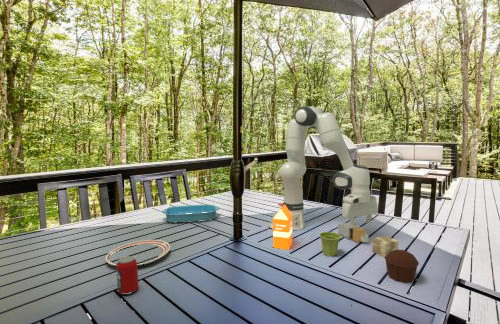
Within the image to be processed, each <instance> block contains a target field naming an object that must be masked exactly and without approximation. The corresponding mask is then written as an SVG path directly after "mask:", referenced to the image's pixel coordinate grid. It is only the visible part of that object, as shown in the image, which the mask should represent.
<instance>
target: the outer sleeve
mask: <svg viewBox="0 0 500 324" xmlns="http://www.w3.org/2000/svg"><path fill="white" fill-rule="evenodd" d="M338 225H339V230H338V229H337V231H338V233H337V234H339V235H340V236H341V238H344V239H347V240H348V241H350V240H351V241H352V240H353V237H351V230H352V229H353V228H359V227H360V228H361V226H359V225H358V224H356V226H351V222H350V221H349V222H343V223H338Z"/></svg>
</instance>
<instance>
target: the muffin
mask: <svg viewBox="0 0 500 324" xmlns="http://www.w3.org/2000/svg"><path fill="white" fill-rule="evenodd" d="M383 258H384V260H385V265H386V272H387V275H388V278H389V279H391V280H393V281H394V282H398V283H402V284H407V283H409V284H410V283H412V282H414V281H415V278H416V275H417V274H416V273H417V269H418V266H419V264H420V262H419V261H418V259H417V258H416V256H415V255H414V254H413V253H411V252H409V251H407V250H404V249H398V250H394V251H391V252H389V253H388V254H387V255H386V256H385V257H383Z"/></svg>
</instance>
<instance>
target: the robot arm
mask: <svg viewBox="0 0 500 324" xmlns="http://www.w3.org/2000/svg"><path fill="white" fill-rule="evenodd" d="M293 115H294V116H293V117H294V118H293V119H291V120H290V121H289V122H288V126H287V131H286V137H285V138H286V139H285V152H286V156H287V162H285V163H283V164H282V165H281V166H280V167H279V169H278V170H279V176H280V178H281V181H282V186H283V198H284V199H283V202H278V206H279V207H282V206H283V205H284V204H285V205H286V207H287V208H288V210H289V211H290V213H291V214H292V231H300V230H301V231H303V230H304V229H305V227H306V222H305V218H304V208H305V207H304V198H303V197H304V196H303V195H304V193H303V190H304V189H303V187H302V184H301V177H303V176H304V175H305V173H306V171H307V165H306V156H305V151H306V150H305V149H306V138H307V137H306V136H307V135H306V134H307V130H308V129H313V128H316V129H317V132H318V136H319V138H320V142H321V144H322V145H323V147H324V148H325V149H327V150H329V151H331V152H333V153H335V155H337V157H338V158H339V160H340V163H341V166H342V169H343V170H341V171H340V170H339V171H337V172H336V173H334V174H333V176H332V183H333V186H334V187H335V188H337V190H343V191H344V190H350V193H349V194H348V195H345V196H344V197H342V202H343V203H342V209H341V211H342V213H341V214H342V217H343V218H345V219H348V220H349V222H350V223H351V226H356V225H357V223H356V221H355V218H359V217H364V216H367V217H366V218H365V219H364V220H365V224H371V220H372V218H373V215H375V214H376V215H377V213H378V212H379V206H378V202H377V197H376V196H375V195H371V189H370V185H371V177H370V170H369V168H368V167H367V166H365V165H362V164H355V161H354V160H353V157H352V155H351V153H350V150H349V147H348V146H347V144H346V141H345V139H344V137H343V134H342V131H341V128H340V125H339V123H338V120H337V118H336V116H335V115H334V114H333V113H332V112H325V111H324V110H323V109H322V108H320V107H315V106H307V105H305V106H300V107H299V108H297V109H296V110H295V112H294V114H293ZM278 212H279V210H278V211H277V212H275V213H274V214H273V215H272V217H271V219H272V220H271V222H268V225H267V227H270V228H269V229H271V228H272V229H271V230H273V219H274V217H275V216H276V215H277V213H278Z"/></svg>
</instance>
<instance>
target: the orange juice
mask: <svg viewBox="0 0 500 324" xmlns="http://www.w3.org/2000/svg"><path fill="white" fill-rule="evenodd" d="M278 211H279V212H278ZM278 211H277V212H278V213H277V212H276V213H277V215H276V216H275V217H274V219H273V229H272V230H273V231H272V238H273V239H272V240H273V241H272V242H273V243H272V246H273V247H274V248H273V249H276V248H280V249H279V250H284V249H287V250H286V251H289V250H290V248H291V247H292V245H293V230H292V214H291V213H290V211H289V210H288V208H287V207H286V205H285V204H284V205H283V206H280V209H279V210H278ZM290 246H291V247H290Z"/></svg>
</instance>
